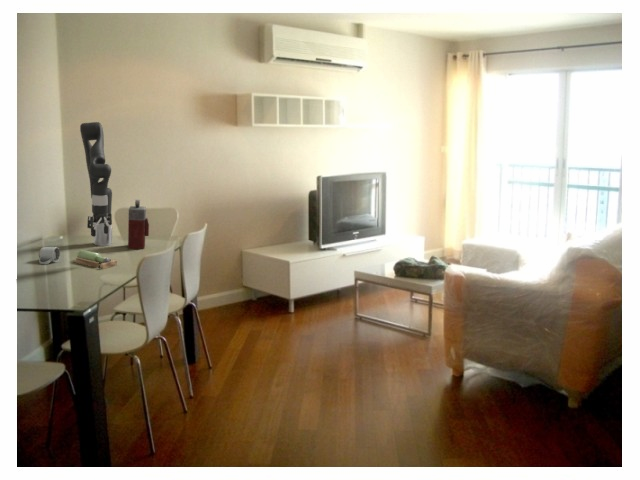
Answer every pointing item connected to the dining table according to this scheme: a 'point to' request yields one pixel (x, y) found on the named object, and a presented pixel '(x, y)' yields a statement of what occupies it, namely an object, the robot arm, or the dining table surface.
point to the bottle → (92, 256)
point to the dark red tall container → (137, 226)
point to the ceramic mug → (49, 255)
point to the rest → (96, 263)
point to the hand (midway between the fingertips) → (99, 234)
